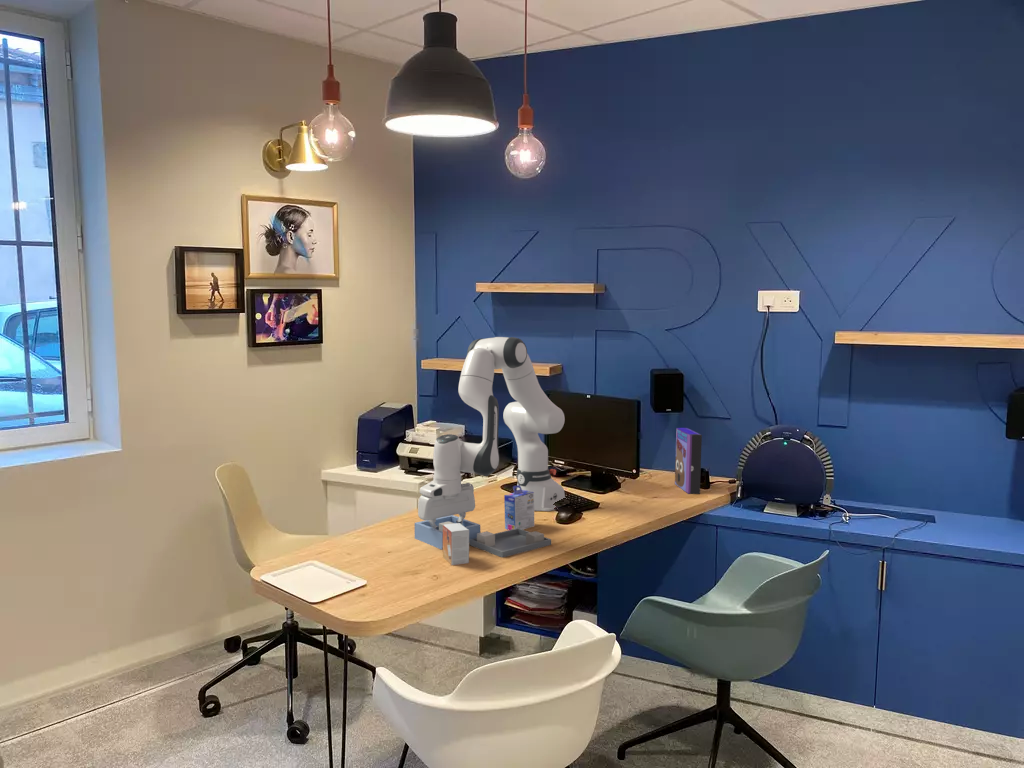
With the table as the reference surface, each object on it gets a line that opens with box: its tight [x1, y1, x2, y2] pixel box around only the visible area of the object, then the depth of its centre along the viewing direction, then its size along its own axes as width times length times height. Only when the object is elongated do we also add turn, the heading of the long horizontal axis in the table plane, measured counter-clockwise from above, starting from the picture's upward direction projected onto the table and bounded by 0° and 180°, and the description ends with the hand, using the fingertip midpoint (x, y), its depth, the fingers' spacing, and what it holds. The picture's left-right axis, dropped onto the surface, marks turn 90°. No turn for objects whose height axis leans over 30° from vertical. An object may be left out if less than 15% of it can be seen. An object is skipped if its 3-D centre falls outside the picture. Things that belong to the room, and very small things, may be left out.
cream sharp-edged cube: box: [477, 531, 495, 546], centre depth 253 cm, size 4×4×4 cm
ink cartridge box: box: [503, 485, 535, 531], centre depth 272 cm, size 10×6×14 cm, turn 137°
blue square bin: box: [414, 515, 481, 551], centre depth 258 cm, size 15×15×6 cm
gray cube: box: [526, 530, 545, 545], centre depth 253 cm, size 4×4×4 cm
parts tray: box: [469, 528, 552, 559], centre depth 253 cm, size 20×16×2 cm
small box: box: [442, 523, 470, 567], centre depth 238 cm, size 8×6×10 cm
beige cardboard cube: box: [439, 521, 455, 532], centre depth 258 cm, size 4×4×5 cm
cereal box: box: [674, 427, 703, 495], centre depth 330 cm, size 17×5×24 cm, turn 6°
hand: (447, 528), depth 258 cm, fingers open, 8 cm apart
